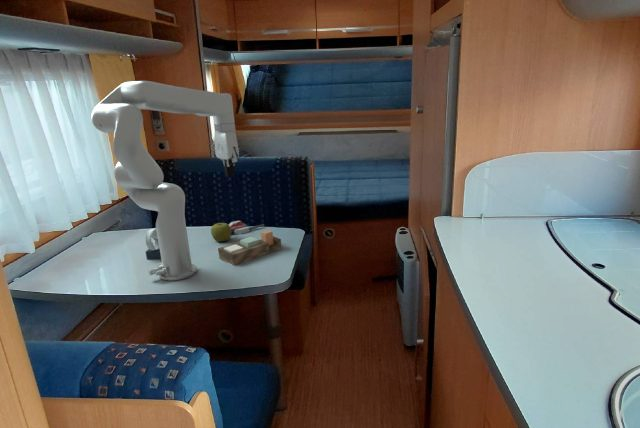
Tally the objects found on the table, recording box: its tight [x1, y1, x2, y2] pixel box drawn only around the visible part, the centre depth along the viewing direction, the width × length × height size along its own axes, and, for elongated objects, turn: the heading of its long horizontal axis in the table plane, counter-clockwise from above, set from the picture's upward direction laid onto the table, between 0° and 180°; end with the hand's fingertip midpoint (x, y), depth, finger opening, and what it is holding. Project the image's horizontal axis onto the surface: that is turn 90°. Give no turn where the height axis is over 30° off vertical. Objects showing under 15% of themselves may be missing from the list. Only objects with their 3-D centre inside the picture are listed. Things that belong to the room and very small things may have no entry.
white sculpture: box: [145, 228, 161, 260], centre depth 176 cm, size 6×8×11 cm
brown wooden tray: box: [217, 235, 283, 266], centre depth 174 cm, size 21×10×4 cm, turn 131°
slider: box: [260, 229, 274, 246], centre depth 177 cm, size 3×3×5 cm
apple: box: [210, 222, 232, 242], centre depth 189 cm, size 8×8×7 cm
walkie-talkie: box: [228, 220, 265, 236], centre depth 201 cm, size 9×4×20 cm
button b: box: [239, 236, 260, 247], centre depth 174 cm, size 5×5×3 cm
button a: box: [224, 244, 243, 253], centre depth 170 cm, size 5×5×3 cm
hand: (230, 176), depth 179 cm, fingers closed
